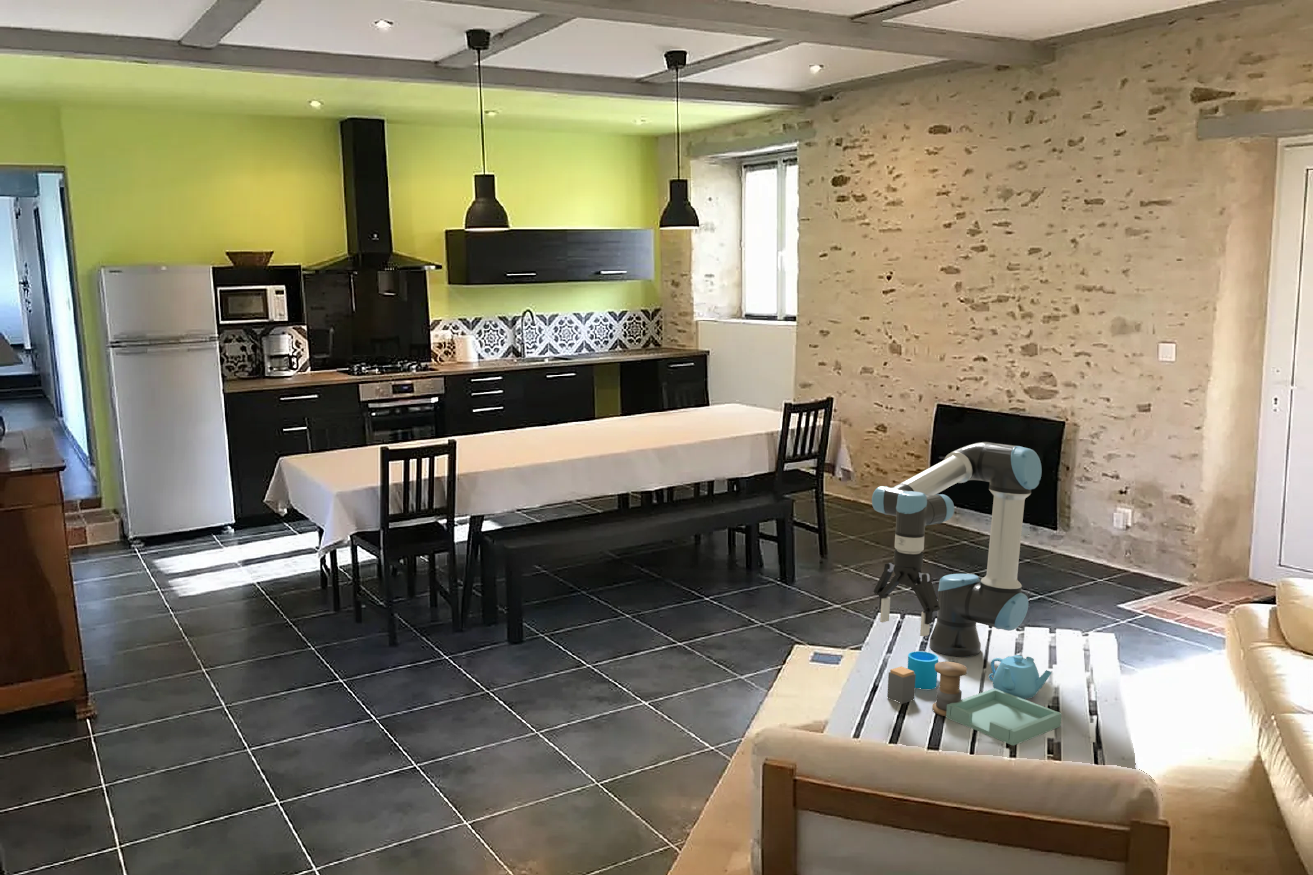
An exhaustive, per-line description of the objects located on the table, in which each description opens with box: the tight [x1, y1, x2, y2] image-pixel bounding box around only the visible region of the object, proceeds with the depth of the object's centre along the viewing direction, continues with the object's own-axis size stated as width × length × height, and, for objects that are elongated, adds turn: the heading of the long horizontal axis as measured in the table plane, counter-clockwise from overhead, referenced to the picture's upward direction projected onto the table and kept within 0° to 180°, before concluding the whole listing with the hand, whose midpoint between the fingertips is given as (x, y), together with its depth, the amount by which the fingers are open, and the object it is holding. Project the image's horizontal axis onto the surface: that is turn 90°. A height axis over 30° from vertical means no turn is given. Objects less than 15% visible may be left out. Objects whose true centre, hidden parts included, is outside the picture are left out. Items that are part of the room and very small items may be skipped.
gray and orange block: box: [886, 666, 916, 705], centre depth 281 cm, size 5×5×8 cm
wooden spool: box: [931, 661, 968, 717], centre depth 273 cm, size 8×8×12 cm
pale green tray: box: [945, 687, 1062, 746], centre depth 268 cm, size 20×20×4 cm
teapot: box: [988, 654, 1052, 700], centre depth 285 cm, size 15×14×11 cm
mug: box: [907, 650, 939, 690], centre depth 293 cm, size 12×8×8 cm
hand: (904, 628), depth 279 cm, fingers open, 13 cm apart
